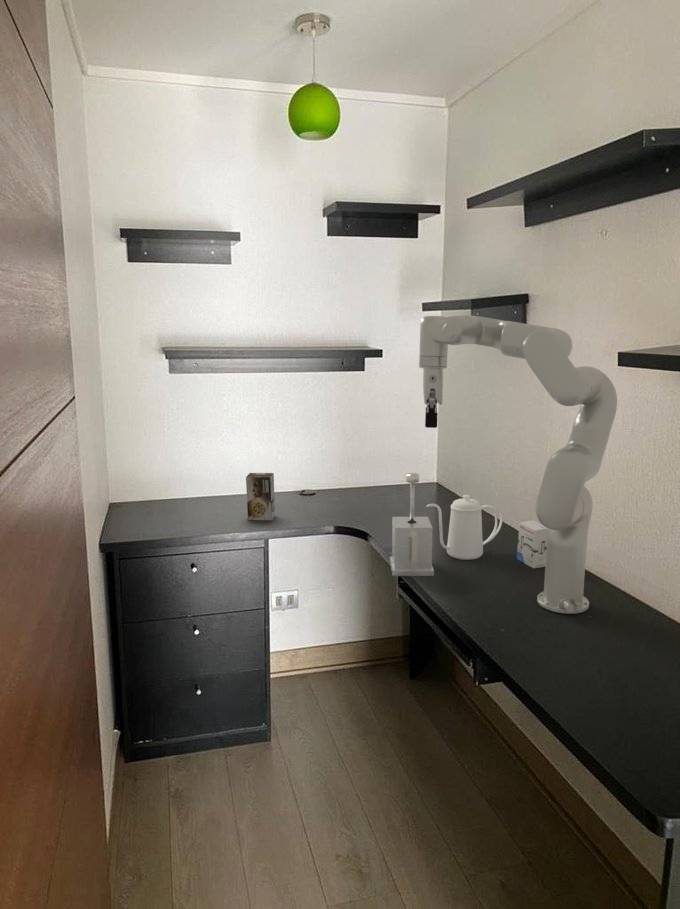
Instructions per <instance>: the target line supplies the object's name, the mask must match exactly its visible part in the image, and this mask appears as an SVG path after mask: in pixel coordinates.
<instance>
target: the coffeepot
mask: <svg viewBox="0 0 680 909" xmlns="http://www.w3.org/2000/svg"><path fill="white" fill-rule="evenodd" d="M425 507H427V508H428V507H434V508H436V509H437V512H438V525H439V526H438V527H439V529H438V530H439V542H440V546H441V547H442V548H443V549H445V550H446V553H447V555H448V556H449V557H452V558H455V559H457V560H462V561H463V560H465V561H466V560H467V561H471V560H477V559H479V558H481V557H482V556H483V554H484V545H486V544H488V543H490V542H491V541H492V540H493V539H494V538H495V537H496V536H497V535H498V534H499V532H500V530H501V528H502V525H503V520H504V519H503V514H502V512H501V510H500V509H499V508H497V507H496V506H493V505H489V504H485V505H481V503H480V501H478V500H476V499H474V498H471V495H470V494H463V495H462V498H458V499H455V500H453V502H452V504H450V517H449V526H448V535H447V545H446V544H445V543H444V535H443V514H442V508H441V507H440V506H439V505H438V504H436V503H428V504H427V505H426V506H425ZM486 508H487V509H489V510H490V511H491V512H492V513H493V516H494V527H493V530H492V532H491V534H490V535H489V536H488V537H487V539H485V540H483V523H482V522H483V519H482V511H483V509H486ZM492 508H494V509H496V510H497V513H499V517H500V518H499V524H498V516H497V514H496V512H495V511H494V510H493V509H492Z"/></svg>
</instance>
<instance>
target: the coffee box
mask: <svg viewBox="0 0 680 909" xmlns="http://www.w3.org/2000/svg"><path fill="white" fill-rule="evenodd" d="M245 483H246V484H245V487H246V489H245V490H246V502H247V503H246V507H247V521H273V520H274V519H275V517H276V507H275V506H276V503H275V476H274V472H249V473H248V474H247V476H245Z"/></svg>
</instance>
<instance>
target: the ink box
mask: <svg viewBox="0 0 680 909" xmlns="http://www.w3.org/2000/svg"><path fill="white" fill-rule="evenodd" d="M518 526H519V527H518V536H517V538H518V539H517V550H516V552H517V553H516V560H518V561H520V562H521V563H522V564H525V565H527V566H528V567H530V568H532V569H537V568H544V567H545V565H546V548H547V535H548V528H546V527H545V526H543V525H542V524H541V523H540V522H537V521H536V520H527V521H520V522H519V523H518Z"/></svg>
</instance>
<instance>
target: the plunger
mask: <svg viewBox="0 0 680 909" xmlns="http://www.w3.org/2000/svg"><path fill="white" fill-rule="evenodd" d="M405 476H406V478H405V480H406V483H409V486H410V491H409V496H410V497H409V498H410V499H409V502H410V503H409V517H410V523H414V517H415V498H416V497H415V495H416V494H415V490H416V488H415V487H416V484H417V483H419V482H420V474H419V473H417V472H409V473H406V475H405Z"/></svg>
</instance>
